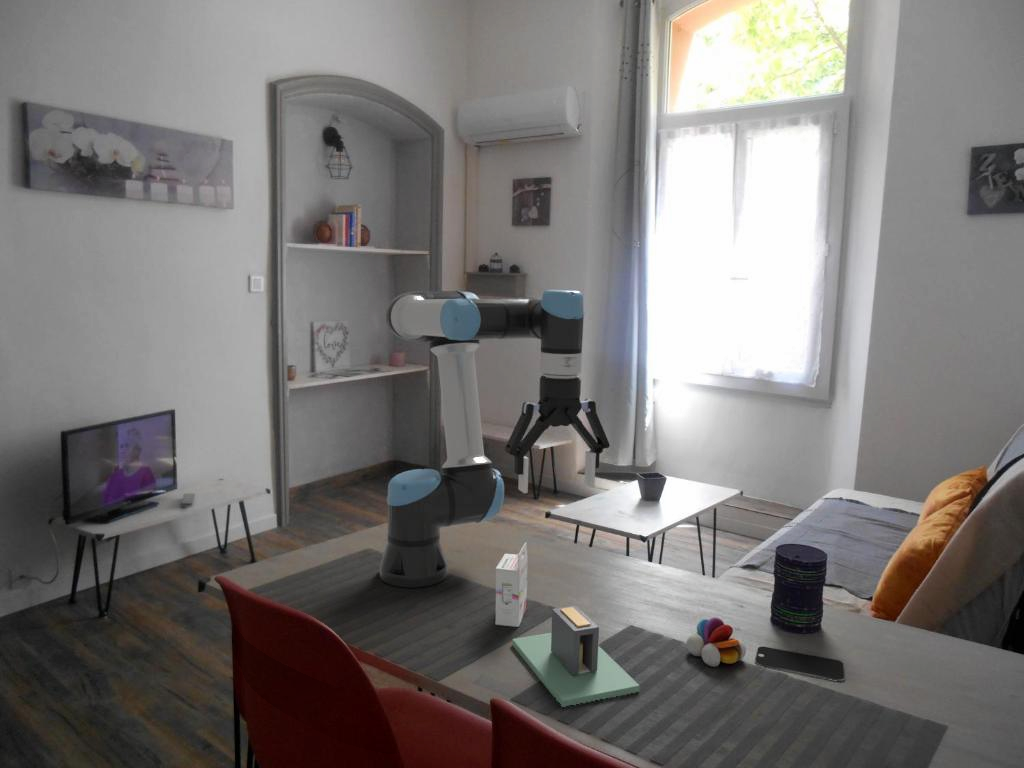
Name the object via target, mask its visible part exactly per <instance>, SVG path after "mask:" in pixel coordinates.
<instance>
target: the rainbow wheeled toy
mask: <svg viewBox="0 0 1024 768" xmlns="http://www.w3.org/2000/svg"><path fill="white" fill-rule="evenodd" d="M733 632H734V630H733V627H732V626H731V625H729V624H725V623H724V621H723V620H722V619H721V618H719V617H717V616H716V617H715V616H714V617H711V618H710V619H706V618H705V619H704V618H703V619H701V620H700V621H699V622H698V624H697V625H696V632H695V633H691V635H689V636H688V638H687V640H686V648H687V650H688V652H689V653H690V654H691V655H692V656H695V657H701V659H702V661H703V662H704V664H706V665H707V666H709V667H714V668H715V667H718V666H719V665H720V662H722V663H724V664H729V665H730V664H734V663H736V662H739V661H741V660H743V659H744V657H745V656H746V651H747V649H746V648H747V647H746V646H745V643H744V642H743V641H742V640H741V639H739V638H735V637H732V636H733V635H732V634H733Z"/></svg>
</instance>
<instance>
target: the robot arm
mask: <svg viewBox="0 0 1024 768" xmlns="http://www.w3.org/2000/svg"><path fill="white" fill-rule="evenodd" d="M584 316H585V311H584V296H583V293H582V292H581V291H579V290H568V289H567V290H566V289H547V290H545V291H543V293H542V297H541V298H535V297H531V296H530V297H525V296H524V297H519V298H479V297H478V295H476V294H475V293H473V292H469V291H460V290H448V291H447V290H443V291H442V290H438V291H437V290H436V291H435V290H433V291H429V290H428V291H427V290H425V291H422V290H415V291H414V290H413V291H407V292H403V293H401V294H399V295H397V296H395V297H394V298H393V299H392V300H391V301H390V302H389V304H388V305H387V307H386V310H385V317H384V318H385V324H386V326H387V327H388V330H389V331H390V332H391V333H392V335H394V336H396V337H398V338H399V339H402V340H404V341H408V342H421V343H422V342H423V343H425V342H426V343H427V342H429V348H430V351H431V353H432V354H434V355H435V356H436V357H437V363H438V374H439V383H440V386H439V387H440V394H441V395H440V396H441V404H442V405H441V406H442V414H443V415H442V417H443V425H444V435H445V436H444V437H445V447H446V456H447V457H446V461H445V462H444V463H443V465H442V466H441V473H442V474H440V472H439V471H438V470H436V469H432V468H423V469H422V468H417V469H411V470H406V471H403V472H401V473H398V474H395V476H393V477H392V478H391V479H390V480H389V482H388V486H387V496H386V503H387V504H386V505H387V541H386V546H385V549H384V552H383V556H382V558H381V561H380V564H379V578H380V579H381V581H383V582H384V583H385V584H388V585H390V586H393V587H398V588H410V589H411V588H412V589H413V588H414V589H415V588H423V587H424V588H426V587H429V586H432V585H436V584H439V583H440V582H442V581H444V580H445V579H446V578H447V576H448V561H447V559H446V557H445V553H444V551H443V547H442V545H441V537H440V536H441V535H440V534H441V528H444V527H446V528H447V527H451V526H458V525H459V526H460V525H465V524H472V523H481V522H484V521H489V520H492V519H494V518H495V517H496V516H498V514H499V513H500V511H501V509H502V507H503V503H504V498H505V483H504V479H503V478H502V474H501V472H500V471H499V470H498V469H495V468H493V464H492V460H490V459H489V458H488V457H487V456H486V455H485V452H484V451H485V450H484V441H483V440H484V439H483V431H482V420H481V419H482V417H481V409H480V401H479V389H478V381H477V369H476V360H475V353H476V351H477V350H478V349H479V347H480V341H481V340H495V339H496V340H501V339H502V340H507V339H509V340H510V339H537V340H540V357H539V358H540V360H539V361H540V362H539V372H540V373H541V374H542V375H540V377H539V394H538V395H539V401H538V403H531V402H528V401H524V402H523V403H522V406H521V407H522V408H521V414H520V416H519V418H518V420H517V422H516V424H515V427H514V429H513V431H512V432H511V435H510V436H509V439H508V441H507V443H506V445H505V447H504V451H505V452H506V453H507V454H509V455H510V456H514V469H513V470H514V473H515V474H516V475H517V476H518V483H517V484H518V488H517V489H518V491H520V492H521V493H522V494H528V492H529V464H530V463H529V461H530V460H529V457H527V456H526V455H527V454H528V452H529V451H530V450H531V449H532V447H533V446H534V445H535V444H536V443H537V441H538V439H540V438H541V436H542V434H543V433H544V432H545V431H547V430H548V429H549V428H550V427H553V428H554V427H555V428H557V427H560V426H563V427H569V425H571V426H572V427H573V428H574V430H575V431H576V433H577V434H578V435H579V437H581V439H582V441H583V442H584V443H585V444H586V445H587V446H588V448H589V449H586V450H585V458H584V459H585V460H584V484H585V485H586V486H588V487H590V488H595V483H596V480H595V479H596V469H599V467H600V454H602V453H603V452H604V451H603V450H605V449H609V448H610V446H611V445H610V442H609V439H608V438H607V435H606V433H605V430H604V427H603V425H602V423H601V420H600V418H599V416H598V414H597V407H596V405H597V403H596V401H594V400H591V399H588V398H586V399H584V400H583V401H581V400H580V397H581V390H582V389H581V387H582V385H581V383H582V378H581V377H580V376H579V375H581V374H582V358H583V357H582V356H583V354H582V353H583V349H582V348H583V334H584V318H585V317H584ZM581 410H582V411H583V413H584V415H585V416H586V419H587V421H588V424H589V425H590V427H591V430H592V433H593V435H594V437H595V438H594V437H593V436H592V434H591V433H590V431H589V430H588V429H587V428H586V426H585V425H584V424H583V422H582V421H581V418H580V417H579V416H578V415H579V413H580V411H581ZM537 412H538V414H539V417H537V419H536V420H535V422H534V424H533V425H532V427H531V428H530V429H529V431H528V428H529V426H530V423H532V422H531V421H532V419H533V416H534V415H535V414H537ZM526 431H528V432H527V434H526ZM525 434H526V435H525Z"/></svg>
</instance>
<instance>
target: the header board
mask: <svg viewBox="0 0 1024 768" xmlns="http://www.w3.org/2000/svg"><path fill="white" fill-rule="evenodd" d="M551 634H552V632H547V633H542V634H535V635H528V636H522V637H515V638H512V641H511V645H512V647H513V648H514V649H515V651H517V653H518V654H519V655H520V657H521V658H522V659H523V660H524V661H525V662H526V664H527V665H528V667H529V668H530V669H531V670H532V672H533V673H534V674H535V675H536V676H537V678H538V679H539V680H540V682H541V683H542V684H543V686H545V688H546V689H547V690H548V691H549V693H550V694H551V695H552V697H553V698H554V697H555V698H556V699H555V698H554V699H555V700H556V701H557V703H558V702H559V703H560V704H561V705H560V704H559V703H558V704H559V705H560V706H561V708H562V707H564V708H566V707H565V706H569V705H574V706H577V705H576V704H579V705H581V704H580V703H583V704H587V703H586V702H588V703H592V702H591V701H593V702H596V701H595V700H598V701H601V700H600V699H603V700H606V698H608V699H612V697H613V698H616V696H618V697H622V695H623V696H627V694H628V695H632V694H631V693H633V694H637V693H636V692H638V693H640V684H639V683H638V682H637V681H635V680H634V678H633V677H632V676H631V675H629V674H628V673H627V672H626V671H625V670H624V669H623V668H622V667H621V666H620V664H618V663H617V662H616V661H615V660H614V659H613V658H612V657H611V656H610V655H609V654H608V653H607V652H606V651H605V650H604V649H603V648H601V647H600V645H598V663H597V671H596V672H591V671H590V670H589V669H588V668H587V667H586V666H585V665H584V664H583V663H582V661H583V643H582V642H580V654H579V675H574V676H573V675H572V674H571V673H570V672H569V671H568V670H567V669H566V668H565V666H564V665H563V664H562V663H561V662H560V661H559V660H558V659H557V657H556V656H555V655H554V654H553V653H552V652H551ZM610 697H611V698H610ZM569 707H570V706H569Z"/></svg>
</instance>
